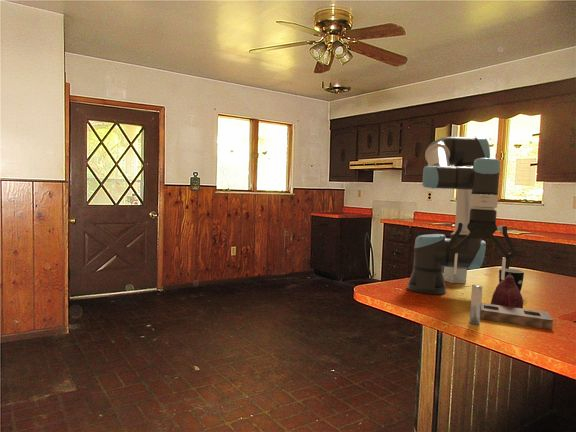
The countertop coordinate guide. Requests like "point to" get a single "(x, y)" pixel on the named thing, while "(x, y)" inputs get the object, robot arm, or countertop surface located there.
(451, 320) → the countertop surface
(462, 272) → the supplement box
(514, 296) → the vegetable
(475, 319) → the pin
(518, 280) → the mug
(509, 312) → the board
